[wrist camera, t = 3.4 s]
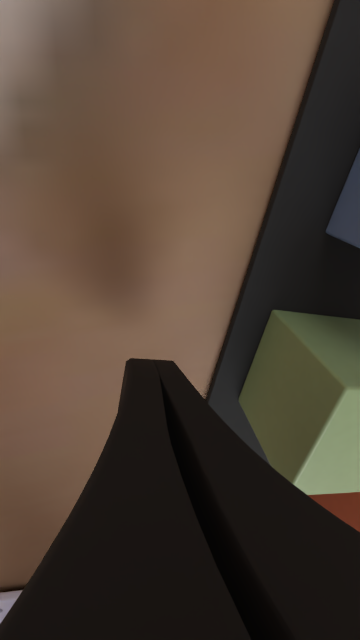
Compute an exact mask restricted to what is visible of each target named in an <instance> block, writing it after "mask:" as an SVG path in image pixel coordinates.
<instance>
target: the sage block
mask: <svg viewBox="0 0 360 640" xmlns="http://www.w3.org/2000/svg"><path fill="white" fill-rule="evenodd" d="M239 403H240V405H241V407H242V409H243V411H244V413H245V415H246V417H247V419H248V421H249V423H250V425H251V427H252V429H253V431H254V433H255V435H256V437H257V439H258V441H259V443H260V445H261V447H262V449H263V451H264V453H265V455H266V457H267V459H268V461H269V463H270V465H271V466H272V467H273V468H274V469H275V470H276V471H277V472H279V473H280V474H281V475H282V476H283V477H285V478H286V479H287V480H288V481H290V482H291V483H292V484H294V485H295V486H296V487H297V488H299V489H300V490H301V491H303V492H304V493H305V494H307V495H317V494H334V493H351V492H360V320H359V319H350V318H341V317H333V316H324V315H316V314H307V313H298V312H290V311H281V310H272V312H271V315H270V317H269V320H268V323H267V325H266V328H265V330H264V333H263V336H262V338H261V341H260V344H259V346H258V349H257V351H256V354H255V357H254V359H253V362H252V365H251V367H250V370H249V373H248V375H247V378H246V380H245V383H244V386H243V388H242V391H241V394H240V396H239Z"/></svg>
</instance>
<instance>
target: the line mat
mask: <svg viewBox="0 0 360 640" xmlns="http://www.w3.org/2000/svg"><path fill="white" fill-rule="evenodd" d="M359 148H360V0H335V1H334V4H333V7H332V10H331V13H330V16H329V19H328V22H327V26H326V29H325V32H324V35H323V38H322V41H321V44H320V47H319V50H318V53H317V57H316V60H315V63H314V66H313V69H312V72H311V75H310V78H309V81H308V84H307V88H306V91H305V94H304V97H303V100H302V103H301V106H300V109H299V112H298V116H297V119H296V122H295V125H294V128H293V131H292V134H291V137H290V140H289V143H288V147H287V150H286V153H285V156H284V159H283V162H282V165H281V168H280V171H279V174H278V178H277V181H276V184H275V187H274V190H273V193H272V196H271V199H270V202H269V206H268V209H267V212H266V215H265V218H264V221H263V224H262V227H261V230H260V233H259V237H258V240H257V243H256V246H255V249H254V252H253V255H252V258H251V261H250V264H249V268H248V271H247V274H246V277H245V280H244V283H243V286H242V289H241V292H240V296H239V299H238V302H237V305H236V308H235V311H234V314H233V317H232V320H231V323H230V327H229V330H228V333H227V336H226V339H225V342H224V345H223V348H222V351H221V355H220V358H219V361H218V364H217V367H216V370H215V373H214V376H213V379H212V382H211V386H210V389H209V392H208V395H207V398H206V402H207V403H208V404H209V405H210V406H211V408H212V409H213V410H214V411H215V412H216V413H217V414H218V415H219V416H220V417H221V419H222V420H223V421H224V422H225V423H226V424H227V425H228V426H229V427H230V428H231V429H232V430H233V431H234V432H235V433H236V434H237V435H238V436H239V437H240V438H241V439H242V440H243V441H244V442H245V443H246V444H247V445H248V446H249V447H250V448H251V449H252V450H253V451H255V452H256V453H257V454H258V455H259V456H260V457H261V458H263V459H264V460H265V461H266V462H267V463H268V464H269V465H270V463H269V461H268V459H267V457H266V455H265V453H264V451H263V449H262V447H261V445H260V443H259V441H258V439H257V437H256V435H255V433H254V431H253V429H252V427H251V425H250V423H249V421H248V419H247V417H246V415H245V413H244V411H243V409H242V407H241V405H240V403H239V396H240V394H241V391H242V388H243V386H244V383H245V380H246V378H247V375H248V373H249V370H250V367H251V365H252V362H253V359H254V357H255V354H256V351H257V349H258V346H259V344H260V341H261V338H262V336H263V333H264V330H265V328H266V325H267V323H268V320H269V317H270V315H271V312H272V310H281V311H290V312H298V313H307V314H316V315H324V316H333V317H341V318H350V319H359V320H360V248H358V247H356V246H353V245H351V244H349V243H347V242H344V241H342V240H340V239H338V238H336V237H333V236H331V235H329V234H327V233H326V229H327V226H328V224H329V221H330V219H331V216H332V214H333V212H334V209H335V207H336V204H337V202H338V199H339V197H340V195H341V192H342V190H343V187H344V185H345V182H346V180H347V178H348V175H349V173H350V170H351V168H352V165H353V163H354V161H355V158H356V156H357V153H358V151H359ZM270 466H271V465H270Z"/></svg>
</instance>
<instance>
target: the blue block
mask: <svg viewBox="0 0 360 640" xmlns="http://www.w3.org/2000/svg"><path fill="white" fill-rule="evenodd" d="M326 233H327V234H329V235H331V236H333V237H336V238H338V239H340V240H342V241H344V242H347V243H349V244H351V245H353V246H356V247H358V248H360V148H359V151H358V153H357V156H356V158H355V161H354V163H353V165H352V168H351V170H350V173H349V175H348V178H347V180H346V182H345V185H344V187H343V190H342V192H341V195H340V197H339V199H338V202H337V204H336V207H335V209H334V212H333V214H332V216H331V219H330V221H329V224H328V226H327V229H326Z"/></svg>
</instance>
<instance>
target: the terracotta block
mask: <svg viewBox="0 0 360 640" xmlns="http://www.w3.org/2000/svg"><path fill="white" fill-rule="evenodd" d="M308 496H309V497H310V498H312V499H313V500H314V501H316V502H317V503H318V504H320V505H321V506H323V507H324V508H325V509H327V510H328V511H330V512H331V513H332V514H334V515H335V516H337V517H338V518H339V519H341V520H342V521H344V522H345V523H347V524H348V525H350V526H351V527H353V528H354V529H356V530H357V531H359V532H360V492H351V493H334V494H317V495H308Z"/></svg>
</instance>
